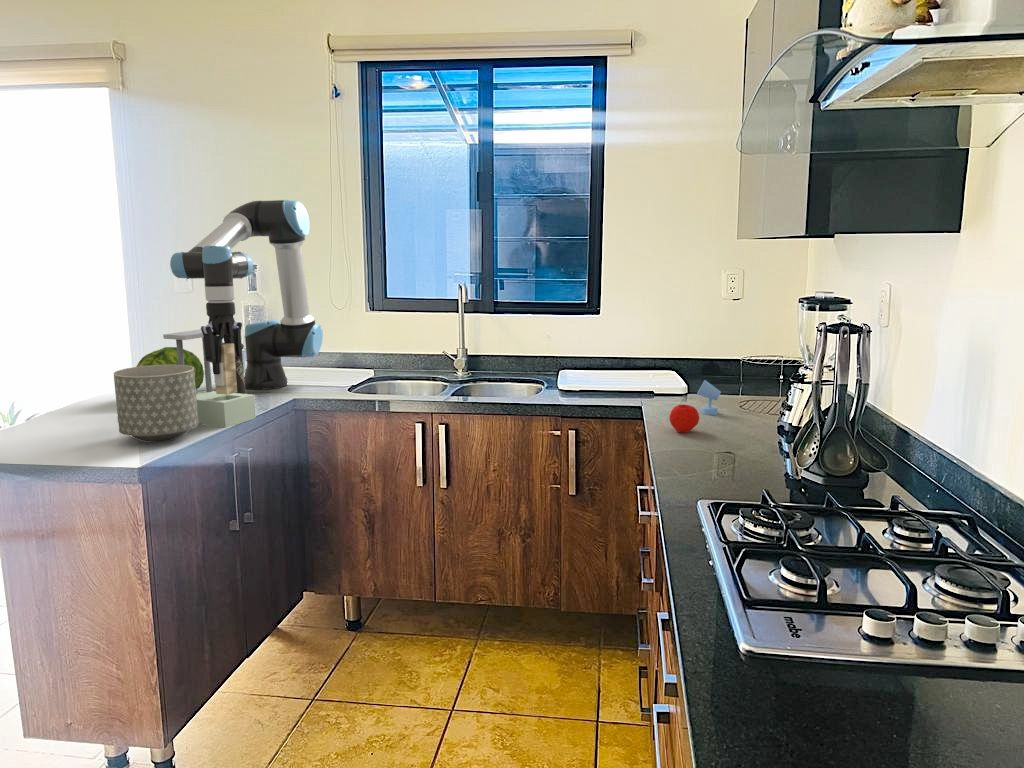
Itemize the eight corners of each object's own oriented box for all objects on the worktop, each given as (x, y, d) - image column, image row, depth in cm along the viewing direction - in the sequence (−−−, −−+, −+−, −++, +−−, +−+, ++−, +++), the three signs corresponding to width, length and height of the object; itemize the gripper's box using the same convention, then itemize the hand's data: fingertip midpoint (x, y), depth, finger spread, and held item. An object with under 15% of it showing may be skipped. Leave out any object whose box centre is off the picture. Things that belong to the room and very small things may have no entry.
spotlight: (695, 414, 230) (719, 415, 228) (696, 380, 228) (721, 382, 226) (696, 410, 234) (720, 412, 232) (697, 378, 233) (721, 379, 231)
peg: (226, 391, 225) (223, 343, 222) (237, 392, 223) (234, 343, 221) (216, 393, 221) (212, 344, 219) (227, 394, 219) (223, 345, 217)
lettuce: (105, 380, 244) (137, 350, 236) (157, 357, 265) (188, 328, 256) (142, 426, 246) (175, 398, 238) (191, 399, 267) (223, 372, 258)
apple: (704, 433, 206) (705, 406, 205) (677, 436, 204) (678, 408, 203) (689, 427, 214) (690, 400, 213) (663, 429, 212) (664, 402, 210)
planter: (146, 429, 215) (140, 364, 212) (212, 430, 213) (207, 364, 210) (104, 446, 197) (97, 376, 193) (175, 448, 195) (169, 377, 191)
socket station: (170, 421, 223) (163, 334, 219) (207, 412, 236) (201, 329, 231) (223, 428, 216) (216, 337, 211) (258, 417, 228) (252, 332, 224)
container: (238, 408, 241) (233, 344, 237) (212, 407, 243) (207, 343, 239) (252, 402, 249) (248, 340, 246) (227, 401, 251) (222, 340, 247)
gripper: (232, 299, 227) (237, 378, 231) (186, 303, 211) (192, 388, 215) (252, 299, 224) (257, 380, 228) (207, 304, 208) (213, 390, 212)
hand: (226, 383), depth 222 cm, fingers closed on peg, 4 cm apart
